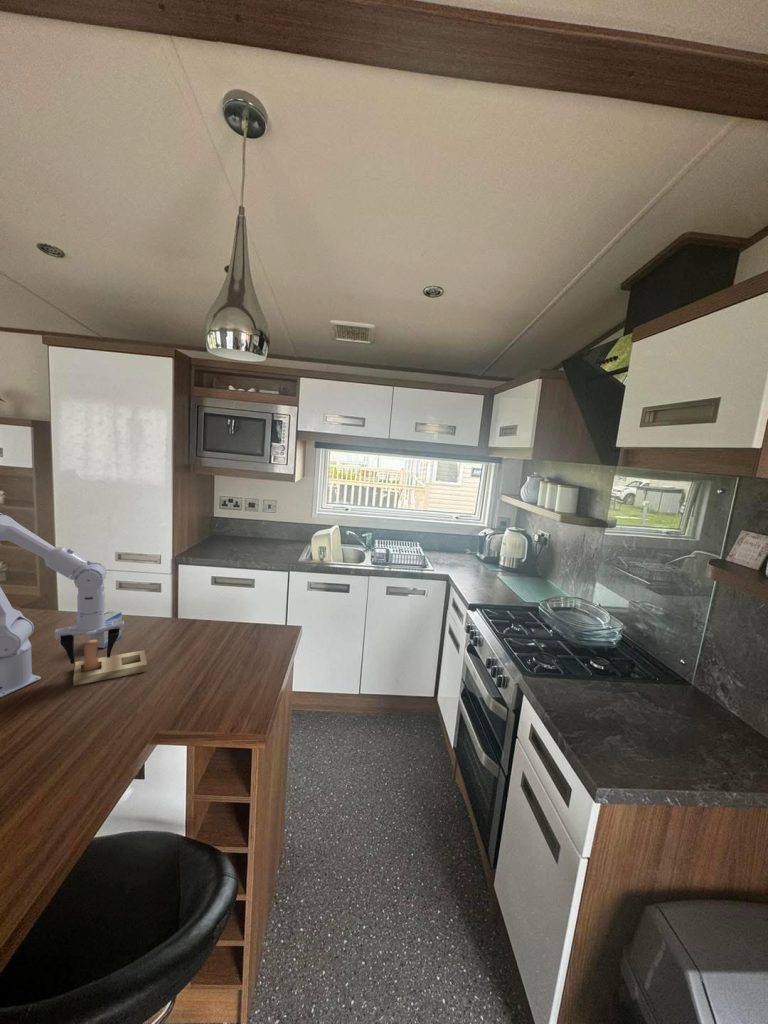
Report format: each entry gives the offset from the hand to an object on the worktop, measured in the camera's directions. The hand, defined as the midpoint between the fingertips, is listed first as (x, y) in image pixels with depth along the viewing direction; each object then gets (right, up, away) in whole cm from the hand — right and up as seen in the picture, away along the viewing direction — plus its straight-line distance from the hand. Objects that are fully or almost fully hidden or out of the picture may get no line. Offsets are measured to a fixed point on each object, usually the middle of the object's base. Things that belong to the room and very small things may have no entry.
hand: (90, 658), depth 105 cm
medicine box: (-8, -2, +18) cm, 19 cm away
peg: (0, -4, +1) cm, 4 cm away
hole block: (+3, -4, +3) cm, 6 cm away
